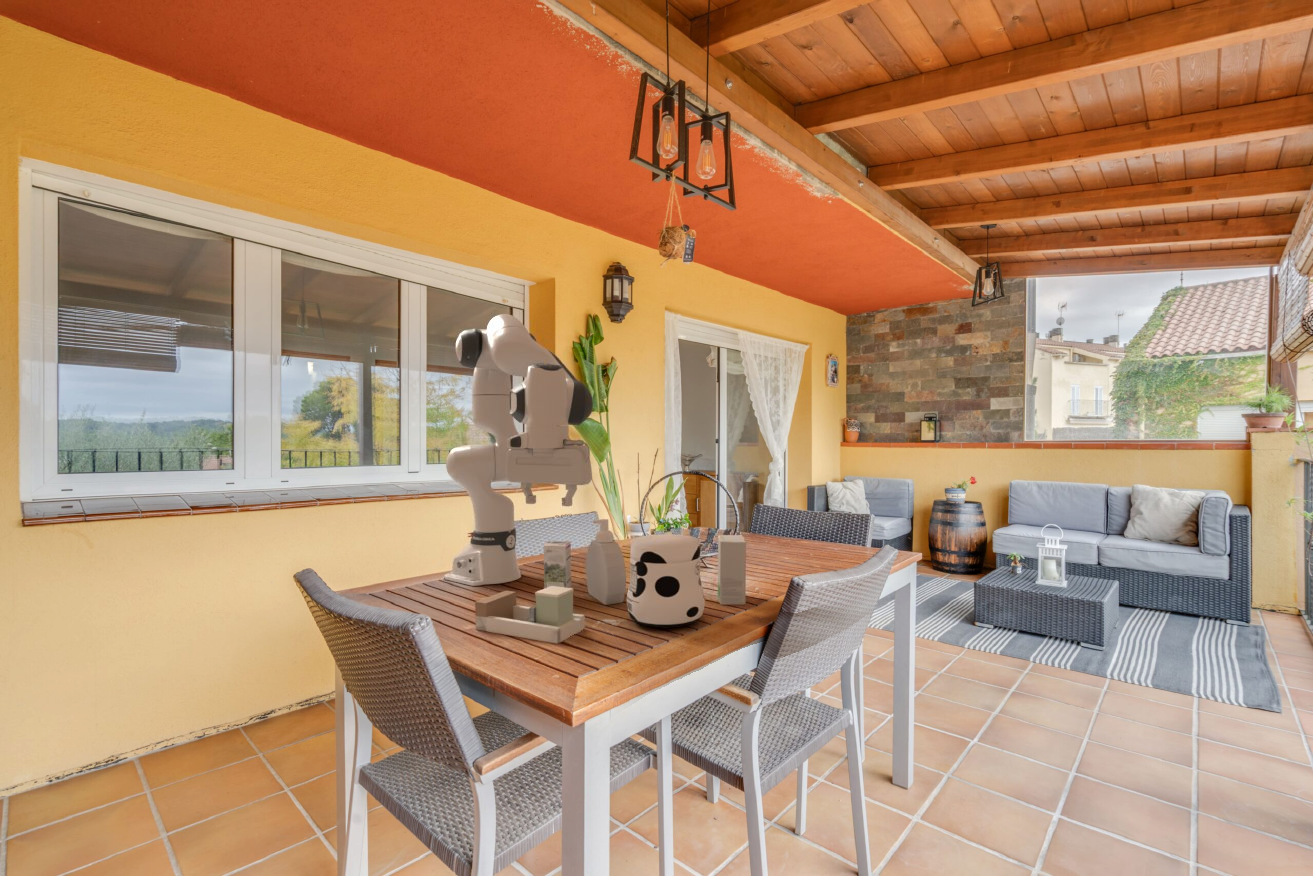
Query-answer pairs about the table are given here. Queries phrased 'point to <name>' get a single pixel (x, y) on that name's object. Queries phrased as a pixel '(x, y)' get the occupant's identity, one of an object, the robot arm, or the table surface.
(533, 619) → the block
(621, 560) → the soap bottle
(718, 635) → the table surface
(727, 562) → the skincare box
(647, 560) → the milk container
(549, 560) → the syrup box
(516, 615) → the frame
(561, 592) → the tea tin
